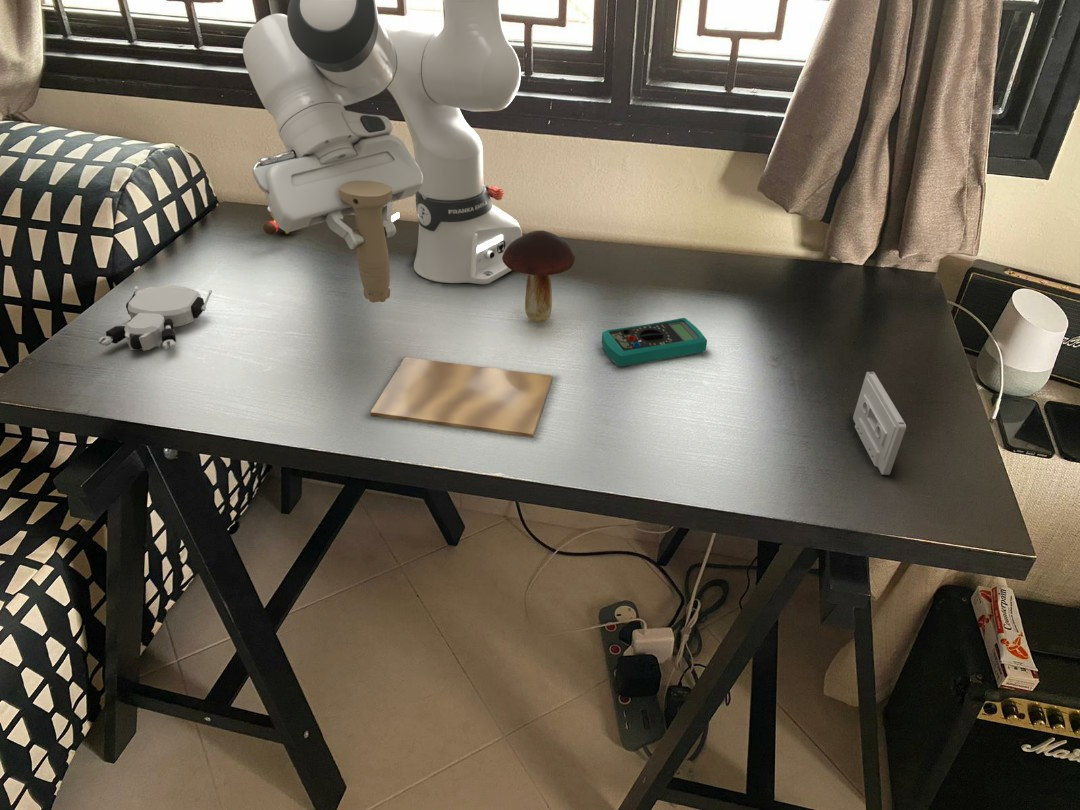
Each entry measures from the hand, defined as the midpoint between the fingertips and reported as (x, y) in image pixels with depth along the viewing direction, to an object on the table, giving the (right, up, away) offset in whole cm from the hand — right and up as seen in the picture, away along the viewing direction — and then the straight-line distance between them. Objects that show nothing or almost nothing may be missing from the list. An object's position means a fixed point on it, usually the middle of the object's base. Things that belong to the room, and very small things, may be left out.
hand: (374, 240), depth 103 cm
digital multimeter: (+38, -12, +21) cm, 45 cm away
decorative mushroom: (+20, -7, +27) cm, 35 cm away
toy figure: (-27, +12, +53) cm, 61 cm away
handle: (-1, -7, +5) cm, 9 cm away
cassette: (+63, -26, +2) cm, 68 cm away
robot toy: (-37, -10, +22) cm, 44 cm away
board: (+10, -20, +10) cm, 24 cm away
